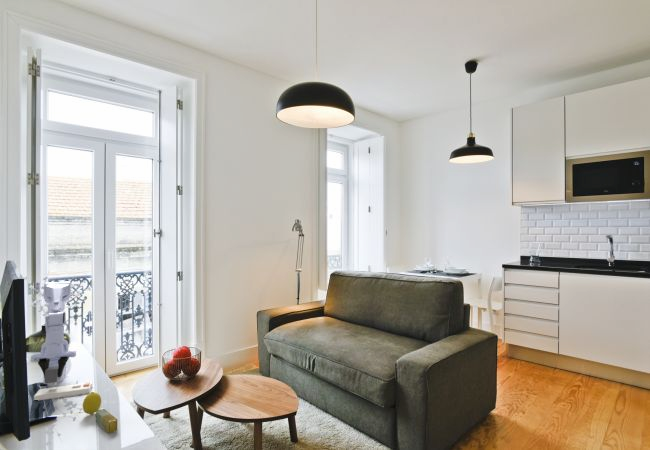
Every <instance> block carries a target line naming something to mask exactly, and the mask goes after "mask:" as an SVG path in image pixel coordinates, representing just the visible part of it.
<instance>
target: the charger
mask: <svg viewBox="0 0 650 450" xmlns="http://www.w3.org/2000/svg"><path fill="white" fill-rule="evenodd" d="M58 370H59V367H58V366H51V367H49V368H48V369H46V370H45V382H44V383H48V384H47V388H51V387H56V385H58V383H57V381H58V380H59V379H61V377H58ZM44 383H43V384H44Z"/></svg>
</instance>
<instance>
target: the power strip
mask: <svg viewBox="0 0 650 450" xmlns="http://www.w3.org/2000/svg"><path fill="white" fill-rule="evenodd" d="M92 388H93V382H92V381H90V382H83V383H75V384H70V385H69V384H68V385H61V386H51V387H45V388H39V389H38V390H37V392H36V393H35V394H34V396H33V401H34V400H38V401H42V400H44V401H45V400H51V399H52V400H53V399H57V398H64V397H71V396H77V395H78V396H79V395H85V394H90V393H91V390H92Z"/></svg>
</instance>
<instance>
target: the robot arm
mask: <svg viewBox="0 0 650 450" xmlns="http://www.w3.org/2000/svg"><path fill="white" fill-rule="evenodd" d="M71 288H72V282H71V281H70V280H68V281H51V282H50V281H45V282H44V284H43V300H44V302H46V303H48V305H47V314H45V320H44V321H45V322H44V325H45V341H44V342H43V343H42V345H41V346H40V347H41V349H40V353H37V354H31V356H30V358H31V359H30V361H31V362H33V361H38V362H37V364H38V366H39V367H40V369H41V370H42V373H43V380H42V382H43V383H42V384H44V385H48V383H44V382H45V370H46V369H48V368H49V367H51V366H58V367H59V370H58V377H61V379H59V380H58V381H57V384H58V383H60V382H63V381H64V380H65V379H64V378H68V377H69V375H66V374H67V362H68V360H69V358H75V357H77V351H76V350H72V351H71V350H70V351H69V342H68V340H66V339H65V338H64V335H65V332H64V331H65V326H66V317H67V316H66V315H67V314H66V310H65V309H66V305H65V303H66V301H69V300H70V298H71Z"/></svg>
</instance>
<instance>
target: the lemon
mask: <svg viewBox="0 0 650 450" xmlns="http://www.w3.org/2000/svg"><path fill="white" fill-rule="evenodd" d="M101 404H102V398H101V395H100V394H99V393H98V392H95V391H92V392H91V391H90V392H89V393H87V395H85V397H84V399H83V402H82V410H83V412H84V413H86V415H91V416H93V415H94V414H96V411H98V410H100V409H101Z"/></svg>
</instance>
